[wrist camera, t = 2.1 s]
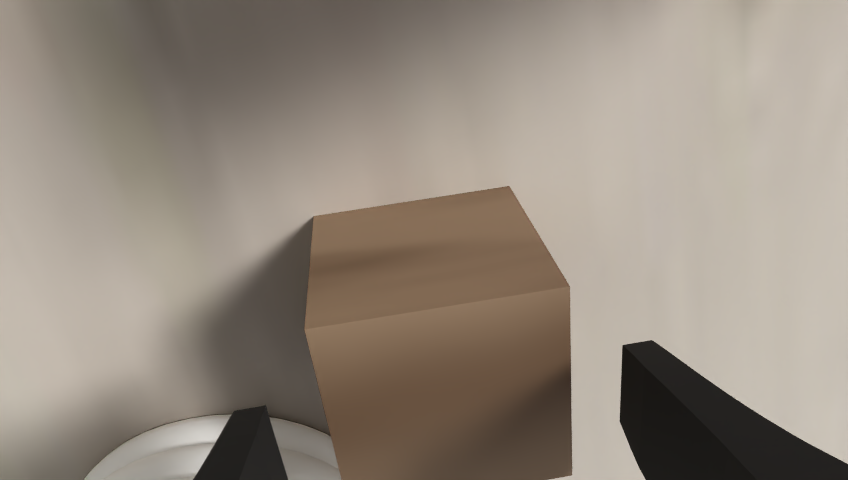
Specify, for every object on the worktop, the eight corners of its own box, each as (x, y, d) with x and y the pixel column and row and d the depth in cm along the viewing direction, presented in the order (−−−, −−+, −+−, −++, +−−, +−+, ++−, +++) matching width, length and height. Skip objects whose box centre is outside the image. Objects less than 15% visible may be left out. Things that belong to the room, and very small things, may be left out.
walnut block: (517, 342, 19) (572, 475, 15) (347, 370, 19) (349, 515, 14) (508, 184, 17) (569, 286, 12) (313, 214, 16) (304, 329, 12)
